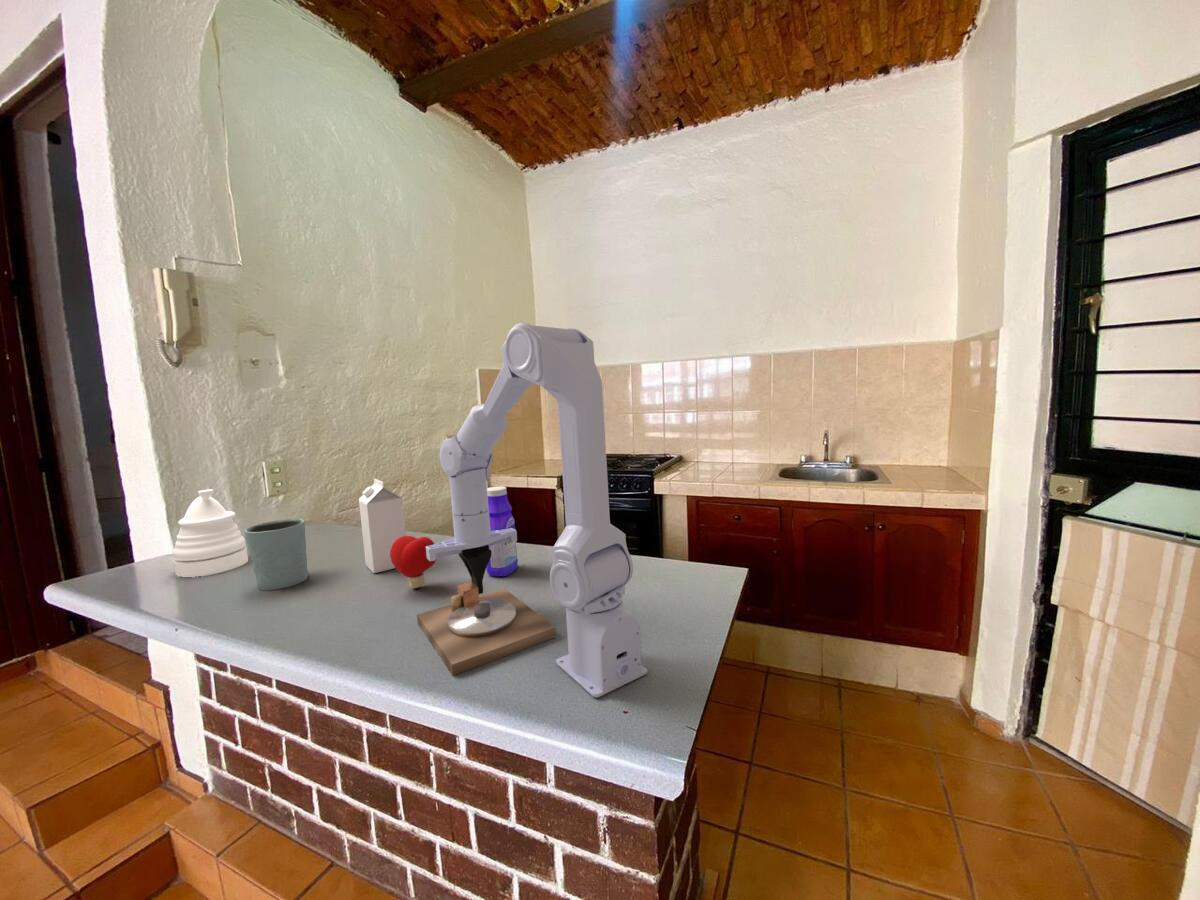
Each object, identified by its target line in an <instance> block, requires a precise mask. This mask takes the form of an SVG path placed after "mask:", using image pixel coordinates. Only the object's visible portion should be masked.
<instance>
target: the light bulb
mask: <svg viewBox="0 0 1200 900" xmlns="http://www.w3.org/2000/svg"><path fill="white" fill-rule="evenodd" d="M434 544H435V542H434V541H433V540H432V539H431V538H429V537H428V536H420V537H418V538H417V537H415V536H412V535H406V536H403V537H400V538H398V539H397V540H396V541H395V542H394V543H393V545H392V547H391V550H390V558H391V561H392V564H393V565H394V567H395V568H394V569H396V570H397V572H399V573H400V574H401V575H402V576H403V577H407V578H408V586H409V587H411V588H413V590H419V589H420V588H421V587H422V586H423V585H424V584H425V577H424V576H425V575H424V574H425V573H424V572H426V571H427V570H429V569H431V568H432V567H433V566H434V564H435V563H436V561H437V560H434V561H429V560H428V559H427V555H426V546H430V545H434Z"/></svg>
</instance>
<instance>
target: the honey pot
mask: <svg viewBox="0 0 1200 900" xmlns="http://www.w3.org/2000/svg"><path fill="white" fill-rule="evenodd" d="M197 493H198V495H199V496H198V497H197V498H195V499H194V500H193V501H192V502H191V504H190V505H189V506H188V507H187V510H186V512H185V514H184V516H183V518H181V519H180V520H179V521H178V522H177V524H178V525H179V526H180V527H179V531H178V533H177V535H176V541H175V543H174V545H175V546H174V548H173V550H172V558H173V567H174V573H175V576H176V575H177V576H182V577H192V578H199V577H198V576H201V577H207V576H211V575H216V574H219V573H226V572H228V571H231V570H234V569H236V568H239V567H241V566H243V565H245V564H247V563H248V562H249V557H248V549H247V548H248V547H247V542H246V537H244V536H243V535H242V532H241V530H240V529H239V526H238V525H237V524H236V523H235V521H234V519H233V518H235V517H236V512H235V511H230V510H226V509H225V507H224V505H222V504H221V503H220V502H219V501H218V500H217V499H215V498H214V497H212V496H213V494H214V489H203V490H199V491H197ZM177 576H176V577H177ZM195 576H197V577H195Z"/></svg>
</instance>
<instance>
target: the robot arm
mask: <svg viewBox="0 0 1200 900" xmlns="http://www.w3.org/2000/svg"><path fill="white" fill-rule="evenodd" d="M594 350H595V348H594V341H593V340H592V339H591V338H590V337H588V336H587V335H586V334H585V333H584V332H582V331H581V330H579V329H577V328H560V327H549V326H541V325H534V324H529V323H526V322H519V323H517V324H515V325H514V326H512V328H511V329H510V330H509V332H508V334H507V336H506V339H505V342H504V343H503V344H502V345H501V358H502V367H501V368H500V371H499V373H498V374H497V377H496V379H495V381H494V382H493V385H492V387H491V390H490V392H489V393H488V395H487V397H486V400H485V402H484V403H480V404H477V405H475V406H472V407H471V409H470V411H469V414H467V417H466V419H465V420H464V422H463V424H462V426H461V427H460V429H459V431H458V432H457V434H456V435H453V436H451V438H450V437H449V438H445V439H443V440H442V442H441V445H440V448H439V462H440V463H439V464H440V467H441V468H442V470H443V472H444V473H445V474H446V475H447V476H448V479H449V481H448V482H449V491H450V503H451V513H452V525H453V535H454V537H452V538H450V539H447V540H444V541H440V542H437V543H434V545H430V546H426V555H427V559H428V560H429V561H434V560H436V561H437V559H440V558H444V557H448V556H449V557H450V556H454V555H458V556H459V558H460V559H461V560H462V561H461V562H463V564H464V566H465V568H466V569H467V572H468V574H469V576H470V579H471V580H470V582H472V583H474V584H475V585H476V586H477V587H478V592H479V595H481V594H483V593H484V584H483V581H484V576H485V572H486V571H487V570H486V567H487V565H488V562H489V560H490V558H491V555H492V553H491V550H490V549H489V546H492V545H497V544H501V543H505V542H515V541H516V542H518V532H517V530H516V528H515V529H513V528H509V529H503V530H495V531H490V518H489V506H488V494H487V488H488V484H487V483H488V481H489V480H490V468H491V466H492V463H493V453H492V451H493V450H494V448H495V447H496V445H497V443H498V442H499V441H500V439H501V437H502V436H503V435H504V433H505V432H506V430H507V428H508V419H507V416H508V414H509V412H510V411H511V410H513V407H515V405H516V404H517V402H518V401H519V400H520V399H521V398H522V397H523V396H524V394H525V393H526V391H527V390H528V389H529V387H530V386H532V385H533V384H534V385H537V386H540V387H541V388H543V389H544V390H545V391H546V392H548V394H550V395H551V396H552V397H553V398H554V399H555V400H556V402H557V412H558V413H557V414H558V425H559V426H558V427H559V439H560V440H559V441H560V455H561V457H560V458H561V472H562V487H563V500H564V501H563V502H564V515H565V518H564V519H565V527H564V529H563V531H562V533H561V534H560V536H559V537H558V538H557V540H556V542H555V544H554V545H553V547H552V553H553V561H552V564H551V568H550V571H549V581H550V582H549V583H550V588H551V591H552V593H553V596H555V598H556V600H557V601H558V603H560V606H561V607H564V608H565V614H566V615H565V617H566V632H567V633H566V636H567V650H568V651H567V653H568V654H565V655H562V656H561V657H558V658H557V659H556V660H555V663H556V665H558V667H560V668H561V670H563V671H564V672H565V673H566V674H568V676H570V677H571V678H572V679H573V680H574V681H575V683H577V684H579V686H580V687H582V688H583V690H585V691H586V692H588V694H590V695H591V696H592V697H594V698H596V699H597V698H600V697H602V696H604V695H606V694H608V693H610V692H612V691H615V690H616V689H618V688H620V687H622V686H624V685H626V684H629V683H631V682H633V681H634V680H637V679H639V678H640V677H642V676H645V675H646V674H648V669H647V668H646V667H645V666H644V665H642V645H641V641H642V640H641V629H640V625H639V623H638V621H637V620H636V618H634V617H633V616H632V615H631V614H630V613H629V612H628V609H626V607H625V605H624V600H623V596H624V595H625V594H626V585H627V584H629V583H630V581H631V580H632V577H633V575H634V564H633V559H632V556H631V554H630V552H629V550H628V546H627V541H626V540H627V539H626V538H627V537H626V533H624V532H623V531H622V530H620V529H619V528H618V527H616V526H614V525H613V524H612V523H611V519H610V518H611V517H610V501H609V499H610V497H609V496H610V495H609V483H608V482H609V481H608V480H609V479H608V463H607V462H608V461H607V449H606V448H607V447H606V430H605V427H606V426H605V410H604V408H605V407H604V393H603V383H602V377H601V375H600V373H599V370H598V368H597V365H596V363H595V351H594Z"/></svg>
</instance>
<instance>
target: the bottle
mask: <svg viewBox="0 0 1200 900" xmlns="http://www.w3.org/2000/svg"><path fill="white" fill-rule="evenodd" d="M487 494H488V506H489V518H490V531H495V530H503V529H509V528H513V529H515V530H516V526H515V523H516V522H515V521H516V520H515V519H514V516H513V514H512V510H513V507H512V505H511V504H510V502H509V500H508V499H509V498H508V491H507V487H506V486H502V485H501V486H490V487H487ZM489 549H490V550H491V553H492V555H491V558H490V560H489V562H488V565H487V567H486V570H485V571H486V573H487V575H489V576H490V577H498V576H499V577H500V576H502V577H507V576H509V575H511V574H512V573H514V571H515V570H516V569H517V566H518V564H519V563H518V561H519V560H518V549H517V541H515V542H505V543H501V544H497V545H492V546H489ZM500 578H501V577H500Z"/></svg>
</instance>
